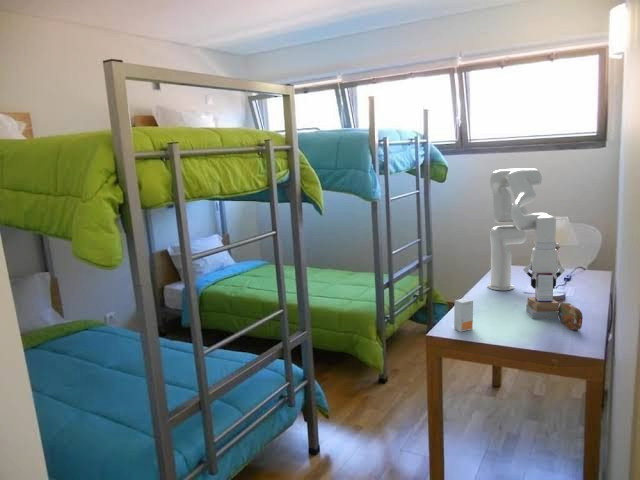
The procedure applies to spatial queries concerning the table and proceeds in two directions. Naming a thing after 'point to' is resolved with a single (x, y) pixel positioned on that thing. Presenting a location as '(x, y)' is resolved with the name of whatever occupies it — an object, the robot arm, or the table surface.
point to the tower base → (542, 314)
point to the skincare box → (463, 314)
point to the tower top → (542, 305)
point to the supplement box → (544, 287)
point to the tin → (570, 316)
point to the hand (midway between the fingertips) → (543, 287)
